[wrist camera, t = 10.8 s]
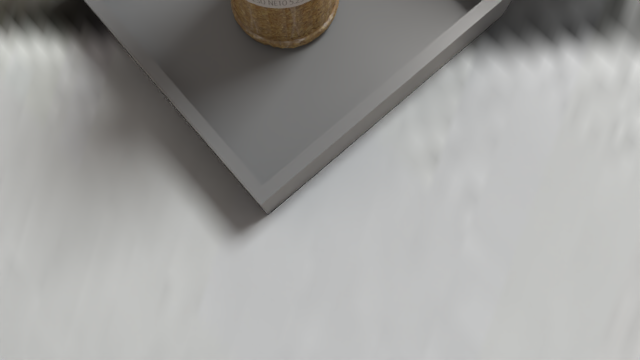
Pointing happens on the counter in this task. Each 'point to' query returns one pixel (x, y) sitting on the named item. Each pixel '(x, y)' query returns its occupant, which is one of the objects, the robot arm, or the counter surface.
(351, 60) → the tray
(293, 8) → the sprinkles bottle
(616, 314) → the counter surface
